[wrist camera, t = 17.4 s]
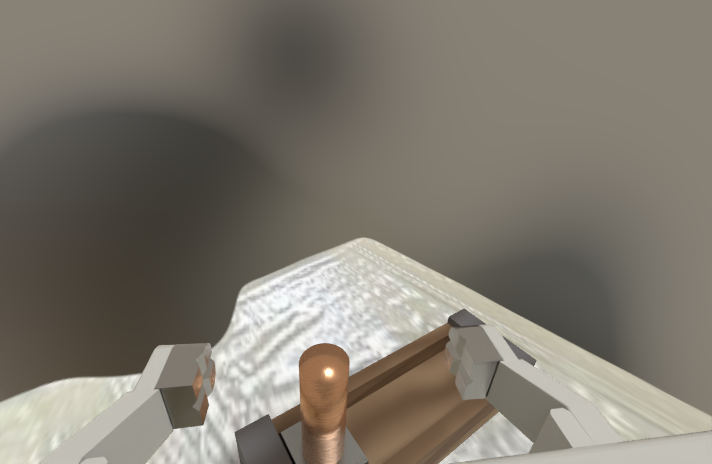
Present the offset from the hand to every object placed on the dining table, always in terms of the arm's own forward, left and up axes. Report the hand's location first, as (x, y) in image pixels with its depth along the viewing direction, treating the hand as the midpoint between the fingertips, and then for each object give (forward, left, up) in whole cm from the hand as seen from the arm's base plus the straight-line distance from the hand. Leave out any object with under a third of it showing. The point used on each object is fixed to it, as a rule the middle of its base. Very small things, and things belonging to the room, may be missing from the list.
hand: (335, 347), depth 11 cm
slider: (+7, -4, -23) cm, 25 cm away
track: (+7, -13, -25) cm, 29 cm away
